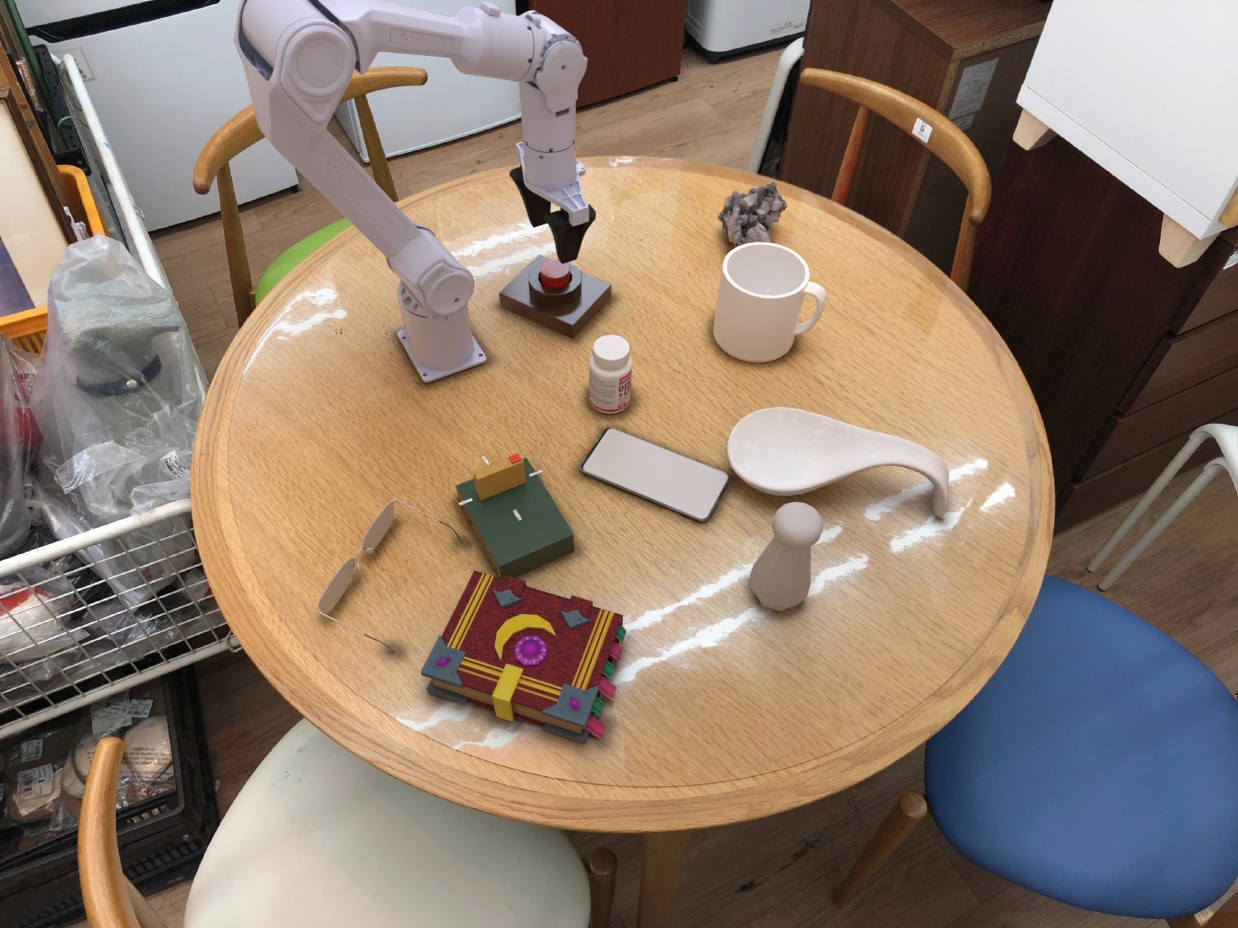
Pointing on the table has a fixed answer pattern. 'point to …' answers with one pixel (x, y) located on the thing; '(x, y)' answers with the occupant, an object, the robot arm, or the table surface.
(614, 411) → the pill bottle
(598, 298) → the dark button base
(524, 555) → the dark green flat block
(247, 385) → the table surface
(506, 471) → the red-dot tan block
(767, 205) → the mineral specimen
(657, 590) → the table surface
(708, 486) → the smartphone
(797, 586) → the salt shaker
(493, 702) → the decorative book
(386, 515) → the eyeglasses
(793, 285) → the mug
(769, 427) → the spoon rest
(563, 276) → the button
